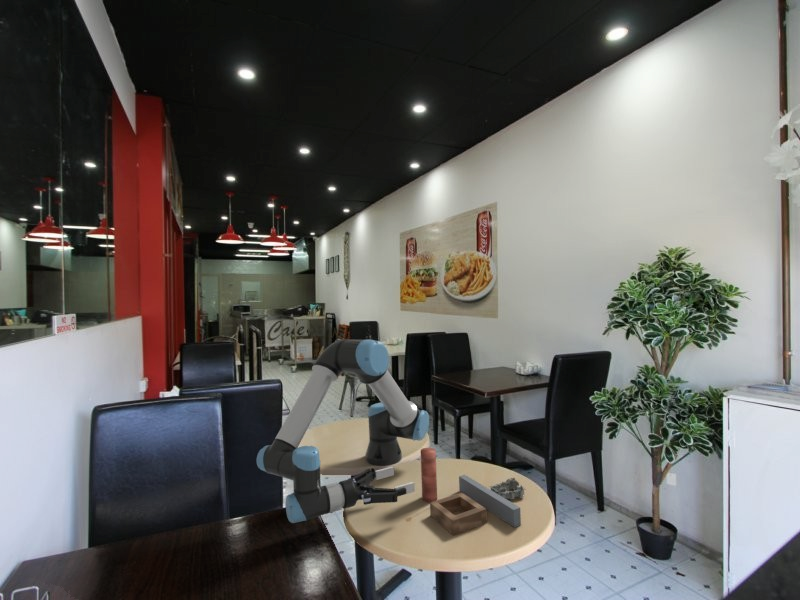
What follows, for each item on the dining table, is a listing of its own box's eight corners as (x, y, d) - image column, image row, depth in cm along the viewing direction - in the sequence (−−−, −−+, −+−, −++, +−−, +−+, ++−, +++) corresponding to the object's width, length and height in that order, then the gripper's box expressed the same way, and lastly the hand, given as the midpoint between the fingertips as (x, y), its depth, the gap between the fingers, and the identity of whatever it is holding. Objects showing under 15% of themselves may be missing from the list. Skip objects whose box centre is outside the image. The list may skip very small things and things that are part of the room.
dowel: (419, 497, 133) (417, 449, 133) (432, 493, 135) (430, 446, 135) (427, 503, 129) (425, 454, 129) (440, 499, 131) (438, 451, 131)
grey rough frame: (515, 488, 138) (515, 476, 138) (528, 498, 130) (527, 486, 130) (487, 493, 135) (487, 480, 135) (498, 503, 128) (498, 490, 128)
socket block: (430, 515, 121) (430, 502, 122) (462, 504, 127) (461, 492, 127) (453, 535, 111) (453, 520, 111) (486, 522, 117) (486, 509, 117)
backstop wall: (459, 490, 137) (459, 476, 137) (465, 489, 138) (464, 474, 138) (514, 527, 114) (513, 509, 114) (520, 524, 115) (520, 507, 115)
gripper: (327, 491, 128) (386, 475, 138) (356, 528, 106) (424, 507, 116) (326, 468, 128) (385, 454, 138) (355, 500, 106) (423, 481, 116)
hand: (403, 478), depth 127 cm, fingers open, 13 cm apart
